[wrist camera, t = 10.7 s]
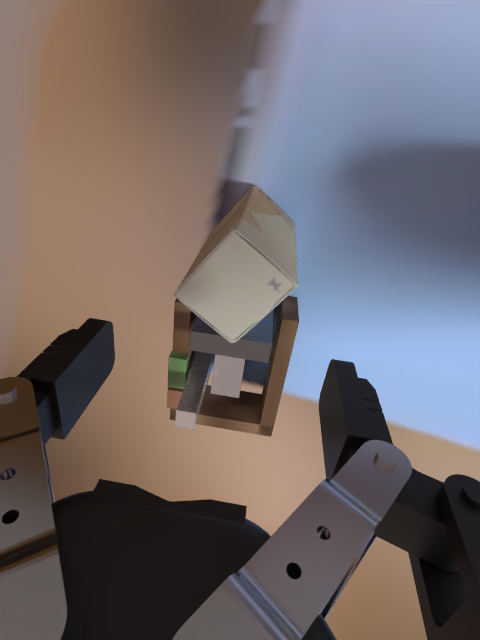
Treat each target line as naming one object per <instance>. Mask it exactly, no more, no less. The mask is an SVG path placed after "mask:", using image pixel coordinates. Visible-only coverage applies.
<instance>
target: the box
mask: <svg viewBox="0 0 480 640" xmlns="http://www.w3.org/2000/svg"><path fill="white" fill-rule="evenodd" d="M297 286H298V279H297V261H296V242H295V224H294V222H293V221H292V220H291V219H290V218H289V217H288V216H287V215H286V214H285V213H284V211H283V210H281V209H280V207H279V206H278V205H276V204H275V203H274V202H273V201H272V200H271V199H270V198H269V197H268V196H267V195H266V194H265V193H264V192H263V191H262V190H261V189H259V188H258V187H257V186H256V185H253V186H251V188H250V189H249V190H248V191H247V192H246V193H245V194H244V195H243V196H242V198H241V199H240V200H239V201H238V202H237V203H236V204H235V205H234V207H233V208H232V209H231V210H230V211H229V212H228V213H227V214H226V216H225V217H224V218H223V219H222V220H221V221H220V223H219V224H218V225H217V226H216V227H215V228H214V230H213V231H212V232H211V234H210V235H209V237H208V239H207V241H206V242H205V244H204V245H203V247H202V249H201V250H200V252H199V254H198V256H197V257H196V259H195V261H194V262H193V264H192V266H191V267H190V269H189V271H188V272H187V274H186V276H185V277H184V279H183V281H182V282H181V284H180V286H179V287H178V289H177V290H176V292H175V294H174V295H175V297H176V298H177V299H178V300H180V301H181V302H182V303H183V304H184V305H185V306H187V307H188V308H189V309H190V310H191V311H192V312H194V313H195V314H196V315H197V316H198V317H200V318H201V319H202V320H203V321H204V322H206V323H207V324H208V325H209V326H210V327H212V328H213V329H214V330H215V331H216V332H218V333H219V334H220V335H221V336H223V337H224V338H225V339H226V340H227V341H229V342H230V343H235V342H236V341H238V340H239V339H240V338H241V337H242V336H243V335H245V334H246V333H247V332H248V331H249V330H251V329H252V328H253V327H254V326H255V325H256V324H257V323H258V322H260V321H261V320H262V319H263V318H264V317H265V316H266V315H267V314H269V313H270V312H271V311H272V310H273V309H274V308H275V307H276V306H277V305H278V304H279V303H280V302H282V301H283V300H284V299H285V298H286V297H287V296H288V295H289V294H290V293H291V292H292V291H293V290H295V289H296V288H297Z"/></svg>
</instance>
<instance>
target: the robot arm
mask: <svg viewBox="0 0 480 640" xmlns="http://www.w3.org/2000/svg"><path fill="white" fill-rule="evenodd" d="M114 360H115V351H114V334H113V325H112V322H110V321H105V320H99V319H92V318H89V319H88V320H87V321H86V322H85V323H84V324H83V325H82V326H81V327H80V328H79V329H78V330H76V329H72V330H70V331H67V332H66V333H63V334H61V335H59V336H58V337H57V338H56V339H55V340H54V341H53V342H52V343H51V344H50V346H48V347H47V348H46V349H45V350H44V351H43V353H41V354H40V355H39V356H38V357H36V359H34V360H33V361H32V362H31V363H30V364H29V365H28V366H27V367H26V368H25V369H24V370H23V371H22V372H21V373H20V374H19V375H18V376H17V377H7V378H2V379H0V640H336V638H335V636H334V635H333V633H332V631H331V630H330V628H329V626H328V625H327V623H326V621H325V619H326V617H327V616H328V614H329V613H330V611H331V609H332V608H333V606H334V605H335V603H336V601H337V600H338V598H339V596H340V594H341V593H342V591H343V590H344V588H345V586H346V585H347V583H348V581H349V580H350V578H351V577H352V575H353V573H354V572H355V570H356V569H357V567H358V565H359V564H360V562H361V561H362V559H363V558H364V556H365V554H366V553H367V551H368V550H369V548H370V547H371V545H372V543H373V542H374V540H375V539H376V537H379V538H381V539H383V540H385V541H387V542H389V543H391V544H393V545H395V546H397V547H399V548H401V549H403V550H405V551H407V552H408V553H409V558H410V562H411V567H412V571H413V576H414V580H415V585H416V590H417V594H418V599H419V603H420V608H421V612H422V617H423V622H424V626H425V631H426V635H427V640H480V482H479V481H477V480H475V479H473V478H471V477H468V476H465V475H459V474H457V475H456V474H455V475H451V476H449V477H448V478H447V479H446V480H445V482H444V483H443V482H441V481H438V480H436V479H434V478H431V477H429V476H427V475H425V474H422V473H420V472H418V471H416V470H415V469H413V468H412V466H411V463H410V461H409V459H408V458H407V456H406V455H405V454H404V453H403V452H402V451H401V450H400V449H398V448H397V447H396V446H394V445H393V443H392V440H391V436H390V433H389V430H388V427H387V424H386V421H385V418H384V415H383V412H382V408H381V405H380V403H379V399H378V396H377V393H376V390H375V389H374V387H373V386H372V385H371V384H370V383H369V382H368V380H367V379H363V378H358V377H357V373H356V369H355V365H354V363H352V362H346V361H340V360H334V359H332V360H331V361H330V364H329V367H328V370H327V373H326V377H325V380H324V383H323V387H322V390H321V393H320V399H319V415H320V424H321V434H322V443H323V452H324V462H325V471H326V479H325V480H323V481H322V482H321V483H320V484H319V485H318V486H317V487H316V488H315V489H314V490H313V492H312V493H311V494H310V495H309V496H308V497H307V498H306V499H305V500H304V501H303V502H302V504H301V505H300V506H299V507H298V508H297V509H296V510H295V511H294V512H293V513H292V514H291V516H290V517H289V518H288V519H287V520H286V521H285V522H284V523H283V524H282V525H281V526H280V527H279V528H278V530H277V531H276V532H275V533H274V534H273V535H272V536H270V535H269V534H268V533H267V532H266V531H265V530H263V529H262V528H261V527H260V526H258V525H256V524H255V523H253V522H252V521H249V520H248V519H246V518H245V517H246V506H242V505H237V504H232V503H227V502H221V501H216V500H210V499H209V500H195V501H194V500H193V501H177V502H170V501H167V500H165V499H162V498H160V497H158V496H156V495H154V494H152V493H150V492H147V491H146V490H143V489H141V488H139V487H137V486H135V485H129V484H124V483H118V482H113V481H107V480H102V479H99V481H98V483H97V485H96V487H95V489H94V491H88V492H82V493H77V494H74V495H70V496H68V497H65V498H62V499H60V500H58V501H56V502H55V498H54V493H53V487H52V481H51V475H50V470H49V464H48V458H47V452H46V447H45V444H46V443H47V441H48V440H49V439H50V437H53V438H58V439H65V438H66V436H67V435H68V433H69V432H70V431H71V429H72V428H73V426H74V425H75V423H76V422H77V420H78V419H79V418H80V416H81V415H82V413H83V412H84V410H85V409H86V407H87V406H88V404H89V403H90V402H91V400H92V399H93V397H94V396H95V394H96V393H97V391H98V390H99V389H100V387H101V386H102V384H103V383H104V381H105V380H106V378H107V377H108V376H109V374H110V373H111V371H112V368H113V365H114Z"/></svg>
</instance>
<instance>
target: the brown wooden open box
mask: <svg viewBox="0 0 480 640" xmlns="http://www.w3.org/2000/svg"><path fill="white" fill-rule="evenodd" d="M196 318H197V315H196V314H195V313H194V312H192V311H191V310H190V309H189V308H188V307H187V306H185V305H184V304H183V303H182V302H181V301H180V300H178V299H176V301H175V310H174V334H173V352H172V351H171V354H170V356H169V367H168V368H169V369H168V394H167V407H168V408H170V419H171V420H176V409H177V406H178V403H179V401H180V398H181V395H182V392H183V389H184V387H185V384H186V381H187V378H188V375H189V373H190V370H191V367H192V364H193V361H194V359H195V355H196V351H192V350H190V339H191V330H192V328H193V325H194V323H195V320H196ZM298 324H299V316H298V303H297V298H296V297H289V296H287V297H286V298H285V299H284V300H283V301H282V302H281V306H280V310H279V315H278V320H277V325H276V330H275V334H274V339H273V344H272V349H271V354H270V359H269V363H268V368H267V373H266V378H265V383H264V387H263V392H262V394H257V393H251V392H245V391H240V395H239V398H235V397H229V396H223V395H217V394H211V386H209V385H207V387H206V390H205V394H204V397H203V401H202V405H201V408H200V412H199V415H198V419H197V423H196V424H200V425H206V426H212V427H217V428H223V429H229V430H235V431H241V432H247V433H253V434H259V435H265V436H271V434H272V431H273V427H274V423H275V418H276V414H277V410H278V406H279V402H280V397H281V394H282V390H283V385H284V381H285V377H286V373H287V369H288V365H289V361H290V357H291V353H292V348H293V344H294V340H295V336H296V332H297V328H298Z"/></svg>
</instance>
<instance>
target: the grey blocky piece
mask: <svg viewBox="0 0 480 640" xmlns="http://www.w3.org/2000/svg"><path fill="white" fill-rule="evenodd" d="M273 312H274V309H273V310H272V311H271V312H270V313H269V314H267V315H266V316H265V317H264V318H263V319H262V320H261V321H260V322H258V323H257V324H256V325H255V326H254V327H253V328H252V329H251V330H249V331H248V332H247V333H246V334H245V335H243V336H242V337H241V338H240V339H239V340H238V341H236V342H235V343H230V342H229V341H227V340H226V339H225V338H224V337H223V336H221V335H220V334H219V333H218V332H216V331H215V330H214V329H213V328H212V327H210V326H209V325H208V324H207V323H206V322H204V321H203V320H202V319H201V318H200V317H198V316H197V318H196V320H195V323H194V325H193V328H192V330H191V339H190V350H192V351H197V353H196V356H195V359H194V361H193V364H192V367H191V370H190V373H189V375H188V378H187V381H186V384H185V387H184V389H183V392H182V395H181V398H180V401H179V403H178V406H177V409H176V422H175V426H176V427H181V428H187V429H193V430H195V426H196V423H197V419H198V415H199V412H200V408H201V405H202V401H203V397H204V394H205V390H206V387H207V383H208V379H209V376H210V372H211V368H212V365H213V358H214V354H215V359H214V368H213V377H212V386H211V394H217V395H223V396H229V397H235V398H239V395H240V389H241V383H242V377H243V371H244V365H245V359H246V360H252V361H259V362H265V363H268V362H269V357H270V352H271V347H272V335H273Z"/></svg>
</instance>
